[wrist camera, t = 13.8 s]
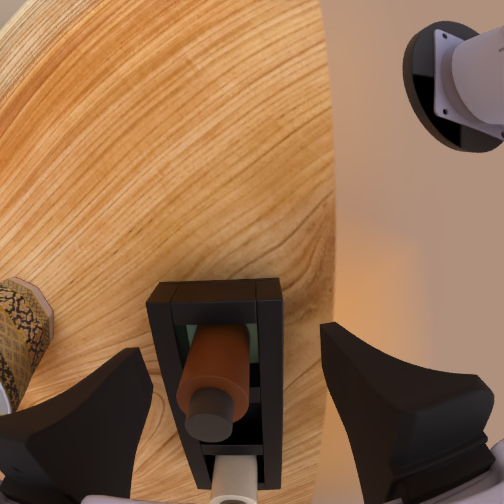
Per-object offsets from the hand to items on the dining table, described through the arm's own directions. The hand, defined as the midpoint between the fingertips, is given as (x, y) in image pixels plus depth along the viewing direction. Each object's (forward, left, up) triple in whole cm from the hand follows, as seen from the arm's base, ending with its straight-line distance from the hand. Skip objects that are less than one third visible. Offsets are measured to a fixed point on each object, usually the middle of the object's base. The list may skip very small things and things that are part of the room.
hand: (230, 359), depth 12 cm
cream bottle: (-1, +19, -10) cm, 21 cm away
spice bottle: (+1, +5, -10) cm, 11 cm away
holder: (0, +12, -10) cm, 16 cm away
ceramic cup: (+20, +7, -11) cm, 24 cm away
